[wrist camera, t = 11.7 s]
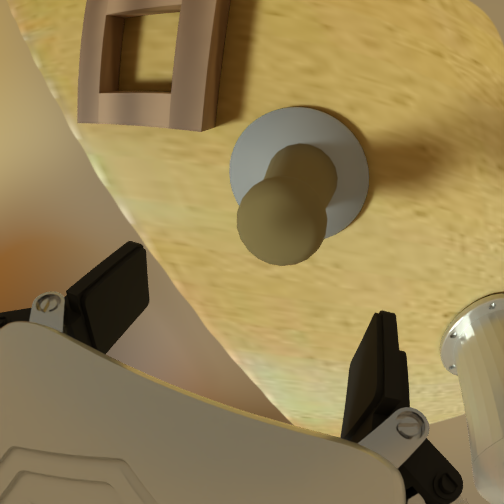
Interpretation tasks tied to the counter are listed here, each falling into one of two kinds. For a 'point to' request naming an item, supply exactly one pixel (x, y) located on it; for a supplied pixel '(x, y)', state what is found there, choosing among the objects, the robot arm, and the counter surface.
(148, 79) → the counter surface
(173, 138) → the counter surface
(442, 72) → the counter surface
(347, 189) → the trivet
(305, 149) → the cork
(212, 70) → the frame
